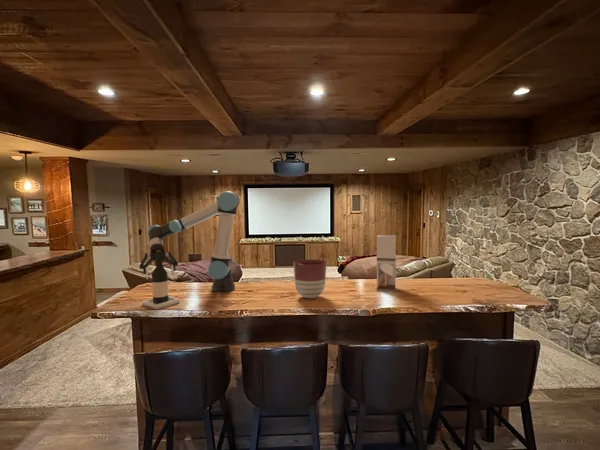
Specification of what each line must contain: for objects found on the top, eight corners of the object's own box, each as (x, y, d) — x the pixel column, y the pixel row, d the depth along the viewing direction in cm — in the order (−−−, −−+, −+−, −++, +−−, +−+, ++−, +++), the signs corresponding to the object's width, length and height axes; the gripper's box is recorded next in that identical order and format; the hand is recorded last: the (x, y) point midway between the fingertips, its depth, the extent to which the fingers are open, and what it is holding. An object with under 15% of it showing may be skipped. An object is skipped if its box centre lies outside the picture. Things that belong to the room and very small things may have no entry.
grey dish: (165, 299, 199) (165, 295, 198) (179, 303, 190) (179, 298, 190) (142, 305, 187) (142, 300, 187) (156, 309, 179) (156, 304, 179)
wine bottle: (155, 305, 183) (152, 251, 181) (151, 302, 190) (148, 250, 188) (170, 302, 188) (168, 250, 186) (166, 299, 195) (164, 248, 193)
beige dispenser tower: (376, 290, 214) (376, 236, 212) (377, 286, 224) (377, 235, 222) (395, 291, 211) (395, 236, 209) (395, 287, 221) (395, 235, 219)
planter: (324, 302, 188) (324, 265, 187) (290, 301, 192) (290, 264, 191) (328, 293, 207) (328, 259, 206) (297, 292, 211) (297, 259, 210)
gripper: (178, 249, 207) (183, 278, 194) (133, 252, 195) (135, 283, 182) (179, 241, 202) (184, 270, 189) (133, 244, 190) (135, 275, 177)
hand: (160, 276), depth 186 cm, fingers open, 13 cm apart
